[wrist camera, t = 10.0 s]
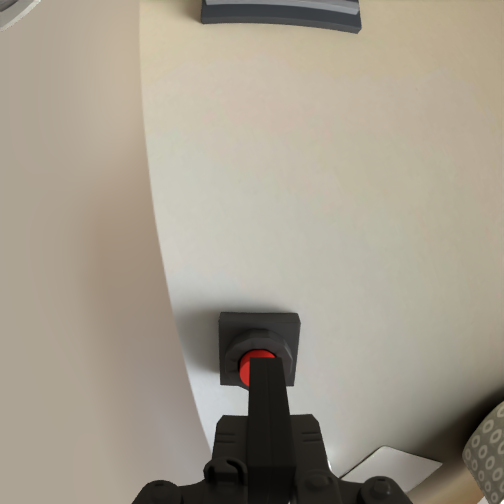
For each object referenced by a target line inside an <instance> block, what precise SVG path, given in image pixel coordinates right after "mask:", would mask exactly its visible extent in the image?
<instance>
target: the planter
mask: <svg viewBox="0 0 504 504" xmlns="http://www.w3.org/2000/svg"><path fill="white" fill-rule="evenodd" d="M462 458H463V461H464V462H465V464H466V466H467V467H468V469H469V471H470V472H471V474H472V476H473V477H474V479H475V481H476V482H477V484H478V486H479V487H480V489H481V491H482V492H483V494H484V496H485V498H486V499H487V501H488V503H489V504H504V401H503V402H501V403H500V404H499V405H497V406H496V407H495V408H494V409H493V410H492V411H491V412H490V413H489V414H488V415H487V416H486V417H485V418H484V420H483V421H482V422H481V424H480V425H479V427H478V428H477V429H476V430H475V432H474V433H473V434H472V436H471V437H470V439H469V440H468V442H467V444H466V446H465V448H464V450H463V454H462Z"/></svg>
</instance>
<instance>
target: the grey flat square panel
mask: <svg viewBox="0 0 504 504" xmlns="http://www.w3.org/2000/svg"><path fill="white" fill-rule="evenodd" d="M441 465H442V463H441V462H437V461H433V460H429V459H426V458H422V457H419V456H416V455H412V454H409V453H406V452H402V451H399V450H396V449H393V448H390V447H387V446H383V447H381V448H379V449H378V450H377V451H376V452H375V453H373V454H372V455H371V456H370V457H368V458H367V459H366V460H365V461H363V462H362V463H361V464H360V465H358V466H357V467H356V468H355V469H353V470H352V471H351V472H349V473H348V474H347V475H345V476H344V477H342V478H341V479H342V480H344V481H349V482H358V483H364V482H365V481H366V480H367V479H369V478H371V477H374V476H386V477H389V478H392V479H393V480H394V481H395V482H396V483H397V484H398V485H399V486H400V488H401V489H402V490H403V492H404V493H405V494H406V493H407V492H408V491H410V490H411V489H413V488H414V487H415V486H417V485H418V484H419V483H420V482H422V481H423V480H424V479H426V478H427V477H428V476H429V475H431V474H432V473H433V472H434V471H435V470H437V469H438V468H439V467H440V466H441Z"/></svg>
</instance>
